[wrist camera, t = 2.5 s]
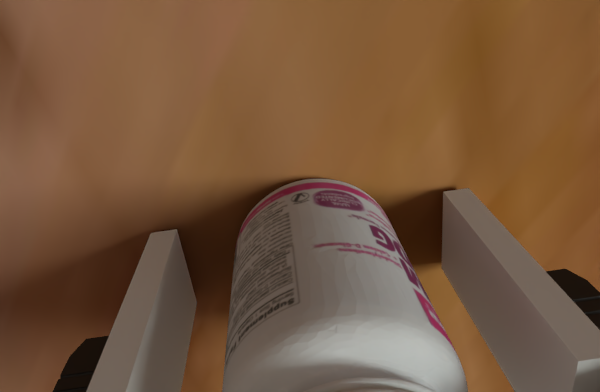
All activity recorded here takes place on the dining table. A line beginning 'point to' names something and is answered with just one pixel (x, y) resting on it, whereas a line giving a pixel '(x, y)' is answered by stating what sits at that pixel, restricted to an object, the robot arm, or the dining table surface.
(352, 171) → the dining table surface
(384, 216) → the pill bottle
